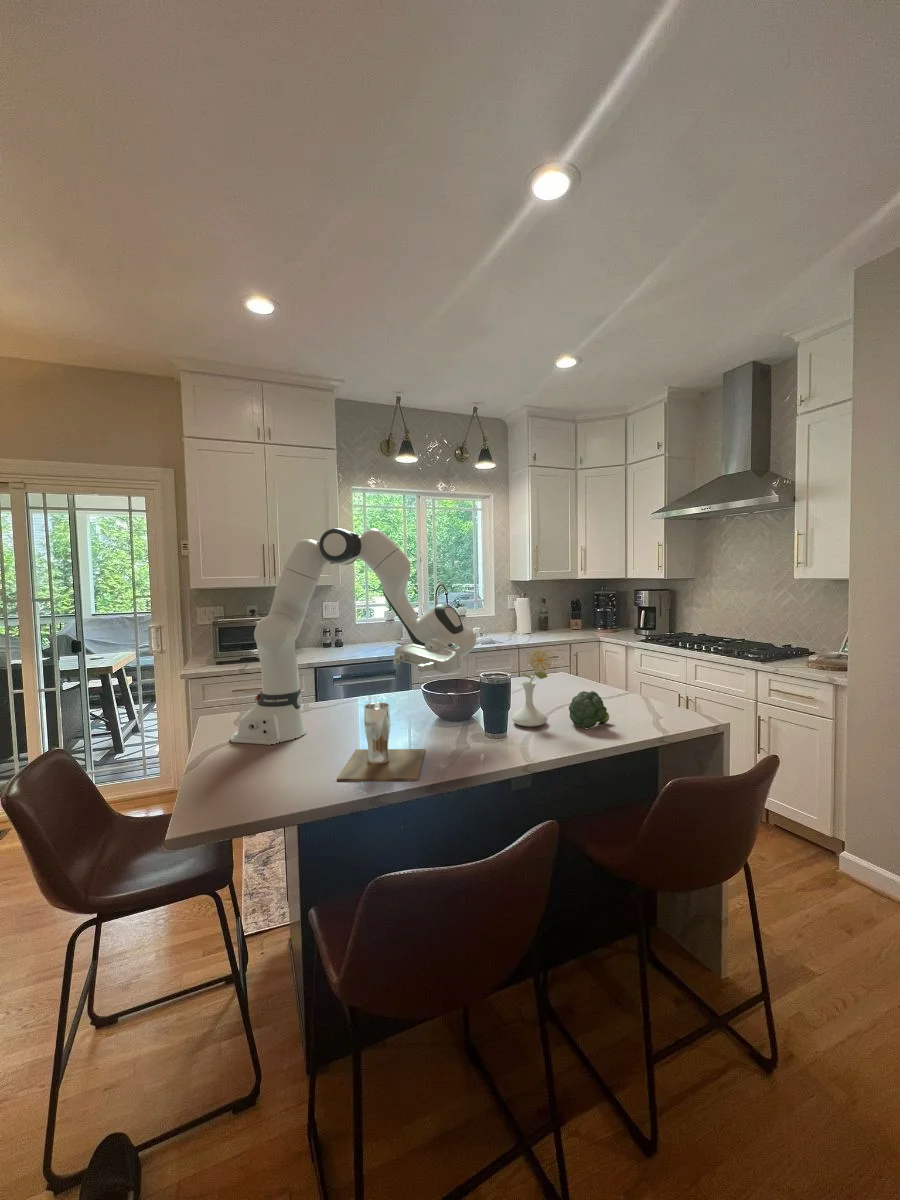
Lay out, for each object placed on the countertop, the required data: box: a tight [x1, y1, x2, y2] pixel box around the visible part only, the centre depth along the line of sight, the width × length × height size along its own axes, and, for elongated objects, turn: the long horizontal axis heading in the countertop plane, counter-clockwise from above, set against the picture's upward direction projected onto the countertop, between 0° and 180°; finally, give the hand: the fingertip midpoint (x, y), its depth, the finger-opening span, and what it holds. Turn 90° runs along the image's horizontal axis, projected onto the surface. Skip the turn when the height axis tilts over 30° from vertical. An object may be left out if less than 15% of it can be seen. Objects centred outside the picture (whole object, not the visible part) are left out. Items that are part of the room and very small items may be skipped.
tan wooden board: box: [336, 748, 426, 782], centre depth 131 cm, size 20×20×1 cm
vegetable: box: [568, 690, 610, 729], centre depth 160 cm, size 12×13×15 cm
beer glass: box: [363, 702, 391, 765], centre depth 132 cm, size 7×7×15 cm
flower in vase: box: [511, 648, 552, 727], centre depth 162 cm, size 13×11×25 cm
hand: (407, 665), depth 140 cm, fingers open, 8 cm apart
